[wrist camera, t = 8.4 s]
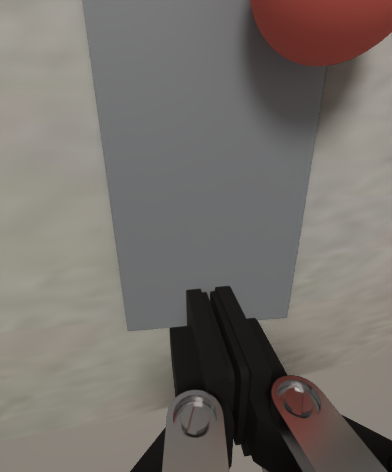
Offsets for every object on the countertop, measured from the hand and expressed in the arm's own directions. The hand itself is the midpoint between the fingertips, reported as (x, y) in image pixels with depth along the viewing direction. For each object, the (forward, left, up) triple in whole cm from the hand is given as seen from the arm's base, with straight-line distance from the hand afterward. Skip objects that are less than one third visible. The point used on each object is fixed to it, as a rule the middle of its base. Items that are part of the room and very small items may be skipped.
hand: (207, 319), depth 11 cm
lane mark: (+5, +3, -7) cm, 9 cm away
